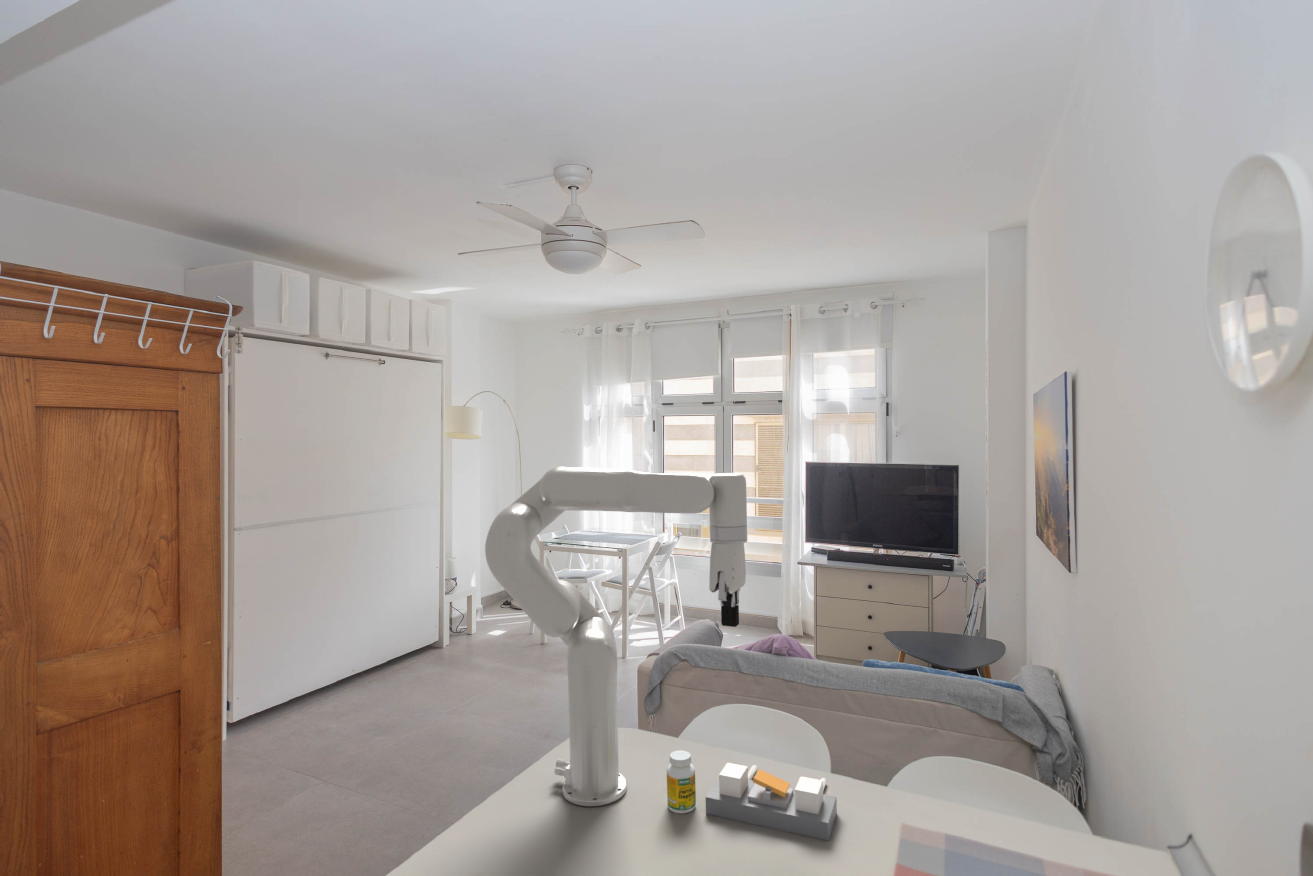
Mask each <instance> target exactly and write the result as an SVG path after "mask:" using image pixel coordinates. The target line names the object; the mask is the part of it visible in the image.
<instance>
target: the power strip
mask: <svg viewBox="0 0 1313 876" xmlns="http://www.w3.org/2000/svg"><path fill="white" fill-rule="evenodd" d="M748 770H749V771H748ZM758 770H759V769H758V766H757V765H756V764H753V765H751V767H750V769H749V768H748V765H742V764H737V763H732V762H727V763H726V764H725V765H724V767H723V768H722V770H721V771H720V773H719V774H718V778H717V780H716V781H715V782H714V784H713V785H712V787H710V788H711V789H709V791H708V793H707V794H706V795H705V814H708V815H710V814H711V816H715V815H716V816H715V817H720V818H723V819H730V820H733V821H739V822H742V823H745V824H746V823H747V824H752V825H756V826H760V827H765V828H769V829H773V830H778V831H783V832H787V833H792V834H795V835H801V836H805V837H810V838H814V839H819V840H823V841H827V842H829V840H830V838H831V834H832V830H833V827H834V825H835V820H836V819H837V818H836V817H837V814H838V809H837V805H838V804H837V796H835V795H830V794H825V793H824V790H825V787H826V785H827V778H826V777H821V778H820V779H817V778H811V777H807V776H800V777H799V779H798V780H797V784H796V785H795V788H793V787H789V788H788V791H787V793H786V795H785V797H783V796H781V795H779V794H776V793H774V792H772V791H766V790H765V789H766V788H764V787H762V786H760V785H758V784H756V783H754V782H753V779H754V777H755V775H756V773H757V771H758Z"/></svg>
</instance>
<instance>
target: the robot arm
mask: <svg viewBox="0 0 1313 876" xmlns="http://www.w3.org/2000/svg"><path fill="white" fill-rule="evenodd" d="M708 508H709V542H710V543H711V545H710V546H711V547H710V554H709V555H710V558H709V579H708V581H709V586H708V587H709V588H708V589H709V591H710V592H711V593H716V592H718V594H717V595H718V597H717V599H718V601H719V602H720V611H721V612H720V614H721V615H720V616H721V620H720V621H721V626H723V627H734V628H736V627H737V626H738V625H740V610H739V609H740V606H739V604H740V591H741V588H743V587H744V586H745V584H746V581H747V580H746V574H747V572H746V571H747V570H746V568H747V567H746V566H747V565H746V551H745V543H747V542H748V514H747V513H748V511H747V510H748V509H747V479H746V476H745V475H744V474H743V473H739V472H721V473H719V472H718V473H713V474H706V473H696V472H683V473H677V474H676V473H656V472H655V473H651V472H643V471H637V470H632V469H628V468H610V467H609V468H606V467H605V468H604V467H603V468H601V467H600V468H599V467H596V468H595V467H569V466H561V465H560V466H555V467H552V468H551V469H549V470H547V471H546V472H545V473H544V475H542V477H541V478H540V479H539V480H538V481H537V482H536V483H534V484H533V485H532V486H531V487H530V488H529V489H528V490H527V491H525V492H524V493H523V494H522V495H520V496H519V497H518V498H517V499H516V500H515V501H514V502H512V503H511V504H510V505H508V506H507V507H506V508H504V509H503V510H501V511H500V512H499V513H498V514H497V515H496V516H495V518H494V519H493V521H492V522H491V525H490V527H489V530H488V531H487V535H486V539H485V543H484V552H485V560H486V564H487V566H488V569H489V570H490V573H491V574H492V576H493V577H494V578H495V580H496V581H497V582H498V584H500V586H501V587H502V588H503V589H504V590H505V592H507V593H508V594H509V596H510V597H511V598H512V600H513V601H514V602H515V603H516V604H517V605H518V607H520V609H521V610H522V611H523V612H524V613H525V614H526V615H527V617H528V618H529V619H530V620H531V621H532V622H533V624H534V625H535V627H537V629H538V630H540V631H541V632H542V633H543V634H545V635H546V636H549V637H552V638H560V640H561V641H563V643H564V644H565V645H566V646H567V657H566V658H567V659H566V662H567V663H566V666H567V667H566V669H567V682H568V683H567V685H568V687H567V688H568V692H567V693H568V713H569V714H568V715H569V716H568V719H569V720H568V721H569V725H568V726H569V729H568V730H569V731H568V732H569V760H566V759H563V758H558V759H557V760H556V761H555V768H554V775H557V776H560V777H561V776H563V777H564V778H565V780H564V781H563V784H562V789H561V791H562V795H563V797H564V798H565V800H566V801H568V802H569V803H571V804H574V805H577V806H581V807H602V806H605V805H609V804H612V803H613V802H616V801H618V800H620V799H621V798H622V797H623V796H624V795H625V793H626V792H627V788H628V786H627V785H628V782H627V779H626V778H625V776H624V775H623V774H622V773H620V771H619V723H618V722H619V720H618V713H619V712H618V649H617V643H616V639H615V633H614V630H613V628H612V627H611V625H610V623H609V622H608V621H607V619H605V618H604V617H603V615H602V614H601V613H600V612H599V611H598V609H596V608H595V607H594V605H593V604H592V603H591V602H590V601H589V599H588V598H587V597H586V596H585V595H584V594H583V593H582V592H581V591H580V589H579V588H578V587H576V586H575V585H574V584H573V583H571V582H569V581H566V580H563V579H556V578H555V577H554V576H553V574H552V573H550V571H549V570H548V569H547V567H546V566H545V565H544V564H543V563H542V562H541V561H540V560H539V559H538V558H536V556H535V555H534V553H533V551H532V548H531V546H532V543H533V542H534V540H535V539H536V538H537V536H538V535H539V534H540V533H541V532H542V531H544V530H545V529H546V527H548V526H550V524H552V523H553V522H554V521H555V520H556V519H557V518H559V516H561V515H562V514H563V513H564V512H565V511H576V512H578V511H582V512H583V511H590V512H591V511H593V512H594V511H596V512H600V511H601V512H602V511H603V512H623V513H655V514H656V513H657V514H658V513H659V514H699V513H702V512H704V511H706V510H707V509H708Z"/></svg>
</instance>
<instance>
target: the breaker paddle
mask: <svg viewBox="0 0 1313 876" xmlns="http://www.w3.org/2000/svg"><path fill="white" fill-rule="evenodd" d="M752 780H753V782H754V783H756V784H758V785H760V786H762V787H764V788H766V789H765V790H766V791H772V792H774V793H776V794H779V795H781V796H783V797H785V795H786V793H787V791H788V788H790V786H791V785H790V783H789V782H788V781H785V780H784V779H781V778H780V777H777V776H775V775H772V774H770V773H769V772H766V771H765V770H762V769H760V768H759V769H757V771H756V773H755V774H754V776H753V778H752Z"/></svg>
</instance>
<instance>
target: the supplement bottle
mask: <svg viewBox="0 0 1313 876" xmlns="http://www.w3.org/2000/svg"><path fill="white" fill-rule="evenodd" d="M669 763H670V764H669V765H667V768H666V793H667V800H666V801H667V808H668V809H669V810H670V811H671V812H673V813H676V814H681V815H682V814H688V813H690V812H693V811H694V810H695V808H696V804H697V803H696V801H697V797H696V796H697V795H696V794H697V791H696V769H695V766H694V764H692V755H691V752H688V751H686V750H674V751H672V752H671V753H670V754H669Z"/></svg>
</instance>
